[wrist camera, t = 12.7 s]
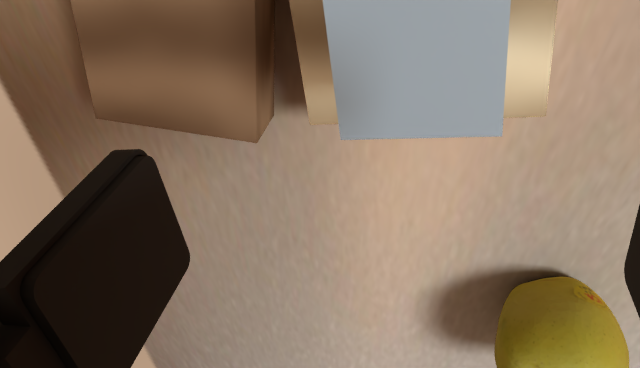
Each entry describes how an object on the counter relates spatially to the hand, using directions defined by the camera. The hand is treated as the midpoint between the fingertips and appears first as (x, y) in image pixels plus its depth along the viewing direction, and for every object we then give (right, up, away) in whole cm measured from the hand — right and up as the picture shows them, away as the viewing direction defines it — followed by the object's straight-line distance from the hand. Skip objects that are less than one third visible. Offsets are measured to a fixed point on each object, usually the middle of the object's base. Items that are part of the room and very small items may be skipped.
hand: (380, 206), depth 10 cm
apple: (+15, -8, +26) cm, 31 cm away
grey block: (+4, +9, +13) cm, 16 cm away
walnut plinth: (-9, +11, +20) cm, 24 cm away
